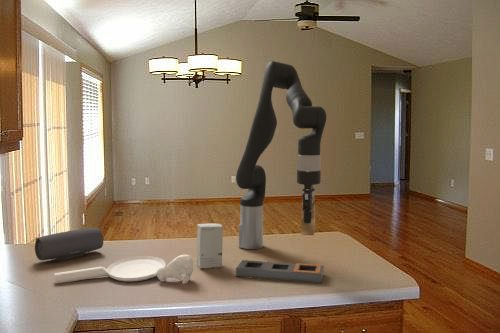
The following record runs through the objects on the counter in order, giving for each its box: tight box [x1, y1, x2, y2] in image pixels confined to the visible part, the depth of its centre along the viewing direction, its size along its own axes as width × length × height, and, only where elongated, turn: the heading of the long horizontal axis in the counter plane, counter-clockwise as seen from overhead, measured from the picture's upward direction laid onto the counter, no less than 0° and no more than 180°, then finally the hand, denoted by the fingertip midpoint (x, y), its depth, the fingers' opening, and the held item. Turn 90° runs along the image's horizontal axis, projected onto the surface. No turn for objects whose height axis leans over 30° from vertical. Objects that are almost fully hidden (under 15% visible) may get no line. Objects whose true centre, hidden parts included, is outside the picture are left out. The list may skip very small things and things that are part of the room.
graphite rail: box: [235, 259, 325, 284], centre depth 157 cm, size 28×9×3 cm, turn 77°
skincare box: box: [196, 222, 224, 270], centre depth 166 cm, size 8×6×15 cm
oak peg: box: [300, 201, 316, 236], centre depth 153 cm, size 4×4×10 cm
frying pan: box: [54, 255, 166, 284], centre depth 155 cm, size 35×19×5 cm, turn 111°
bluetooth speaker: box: [34, 227, 104, 261], centre depth 176 cm, size 23×9×10 cm, turn 135°
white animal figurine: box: [156, 254, 194, 285], centre depth 151 cm, size 6×8×12 cm
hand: (308, 221), depth 153 cm, fingers closed on oak peg, 4 cm apart
